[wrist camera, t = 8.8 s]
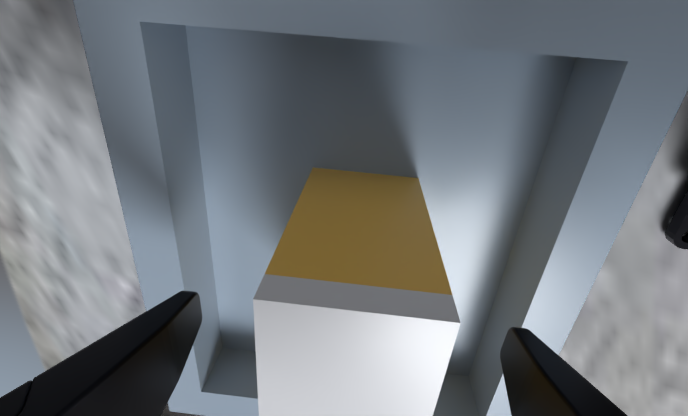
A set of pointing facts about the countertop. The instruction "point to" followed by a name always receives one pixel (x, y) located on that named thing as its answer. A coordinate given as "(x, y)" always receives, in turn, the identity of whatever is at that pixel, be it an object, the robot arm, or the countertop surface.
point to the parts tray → (382, 151)
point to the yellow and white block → (354, 303)
